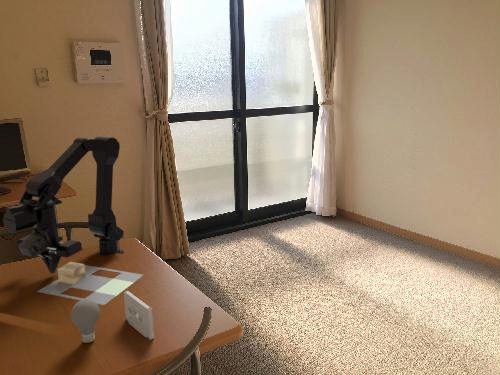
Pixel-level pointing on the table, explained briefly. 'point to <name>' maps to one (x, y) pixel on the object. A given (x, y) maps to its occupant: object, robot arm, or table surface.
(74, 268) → the maple block
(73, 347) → the table surface
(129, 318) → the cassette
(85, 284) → the board
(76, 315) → the light bulb
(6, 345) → the table surface
